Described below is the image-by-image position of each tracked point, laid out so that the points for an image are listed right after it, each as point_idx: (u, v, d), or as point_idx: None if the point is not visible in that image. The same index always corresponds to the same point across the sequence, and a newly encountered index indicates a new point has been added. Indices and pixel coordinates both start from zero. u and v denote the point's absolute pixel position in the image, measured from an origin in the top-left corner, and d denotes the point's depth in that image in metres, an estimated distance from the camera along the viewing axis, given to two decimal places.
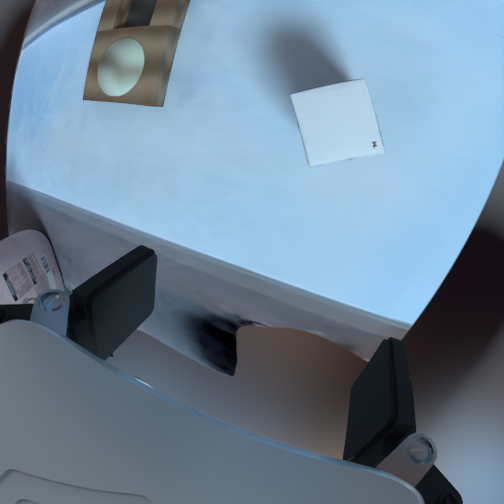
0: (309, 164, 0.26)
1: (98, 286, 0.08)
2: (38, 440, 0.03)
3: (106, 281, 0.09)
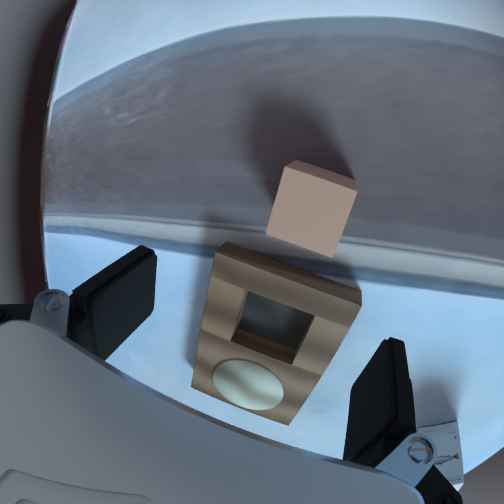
0: None
1: (98, 286, 0.08)
2: (38, 440, 0.03)
3: (106, 281, 0.09)
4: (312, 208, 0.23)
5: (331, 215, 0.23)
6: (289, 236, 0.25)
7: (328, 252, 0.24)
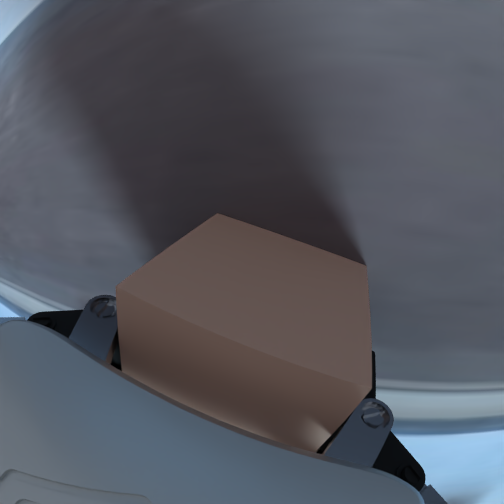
0: None
1: None
2: (38, 440, 0.03)
3: None
4: (219, 406, 0.07)
5: (276, 430, 0.07)
6: None
7: None
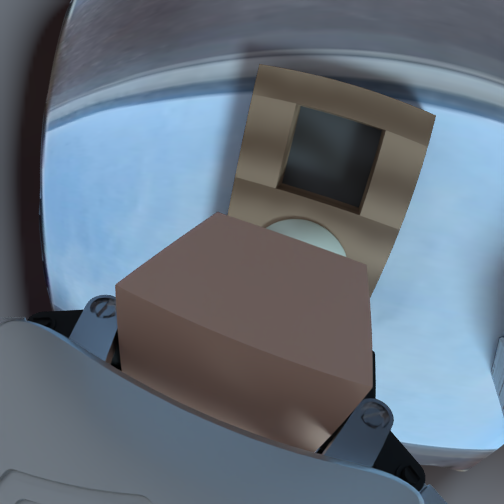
0: None
1: None
2: (38, 440, 0.03)
3: None
4: (220, 405, 0.07)
5: (276, 429, 0.07)
6: None
7: None
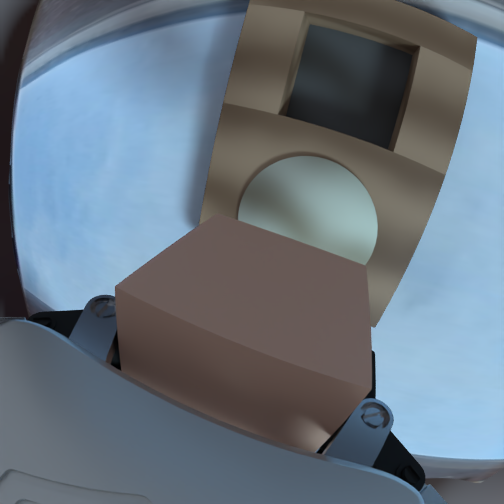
0: None
1: None
2: (38, 440, 0.03)
3: None
4: (219, 407, 0.07)
5: (276, 430, 0.07)
6: None
7: None
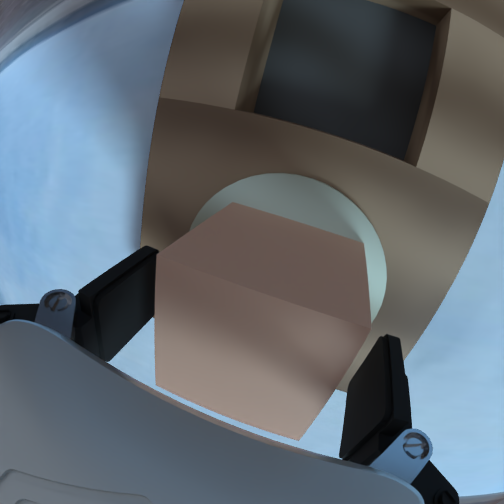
0: None
1: (105, 286, 0.08)
2: (38, 440, 0.03)
3: (112, 281, 0.09)
4: (244, 359, 0.09)
5: (293, 378, 0.08)
6: (201, 398, 0.10)
7: (289, 433, 0.10)
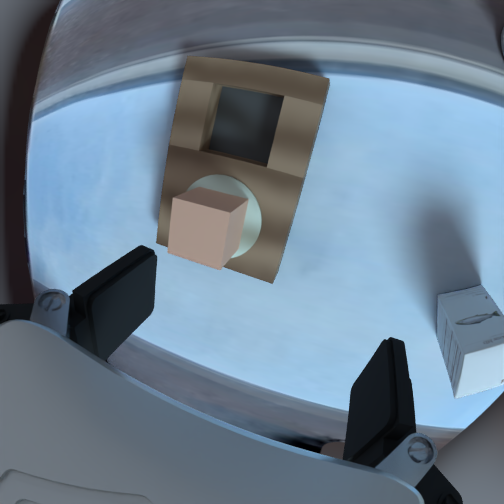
0: (455, 397, 0.24)
1: (98, 286, 0.08)
2: (38, 440, 0.03)
3: (106, 281, 0.09)
4: (197, 229, 0.29)
5: (212, 234, 0.28)
6: (184, 253, 0.30)
7: (216, 265, 0.29)
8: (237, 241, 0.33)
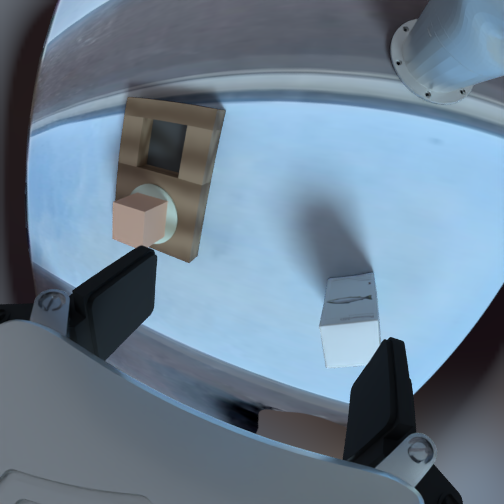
0: (326, 366, 0.36)
1: (98, 286, 0.08)
2: (38, 440, 0.03)
3: (106, 281, 0.09)
4: (128, 223, 0.40)
5: (136, 226, 0.40)
6: (121, 239, 0.42)
7: None
8: (160, 231, 0.45)
